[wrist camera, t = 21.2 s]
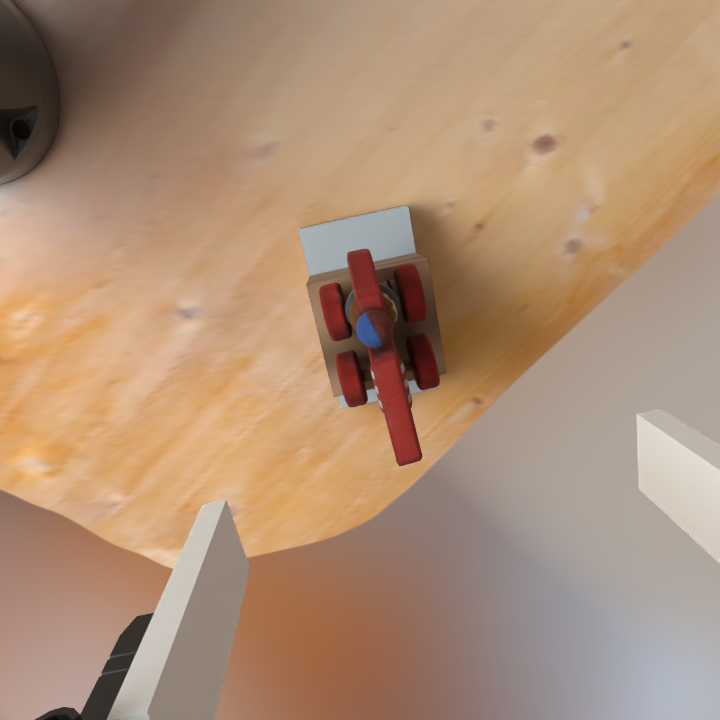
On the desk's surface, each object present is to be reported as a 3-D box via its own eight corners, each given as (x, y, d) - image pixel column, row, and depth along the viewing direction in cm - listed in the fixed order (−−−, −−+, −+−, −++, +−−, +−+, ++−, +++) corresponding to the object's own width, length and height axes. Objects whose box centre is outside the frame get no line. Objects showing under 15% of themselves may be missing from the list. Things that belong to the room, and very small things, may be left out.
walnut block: (309, 275, 39) (306, 285, 34) (416, 252, 39) (427, 258, 34) (333, 375, 42) (333, 397, 37) (433, 354, 42) (446, 373, 37)
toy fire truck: (405, 234, 34) (435, 245, 24) (436, 392, 38) (472, 458, 28) (310, 257, 34) (301, 278, 24) (350, 412, 38) (356, 484, 28)
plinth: (301, 227, 42) (298, 229, 38) (401, 206, 42) (408, 205, 38) (340, 392, 47) (341, 408, 43) (429, 373, 47) (438, 388, 43)
